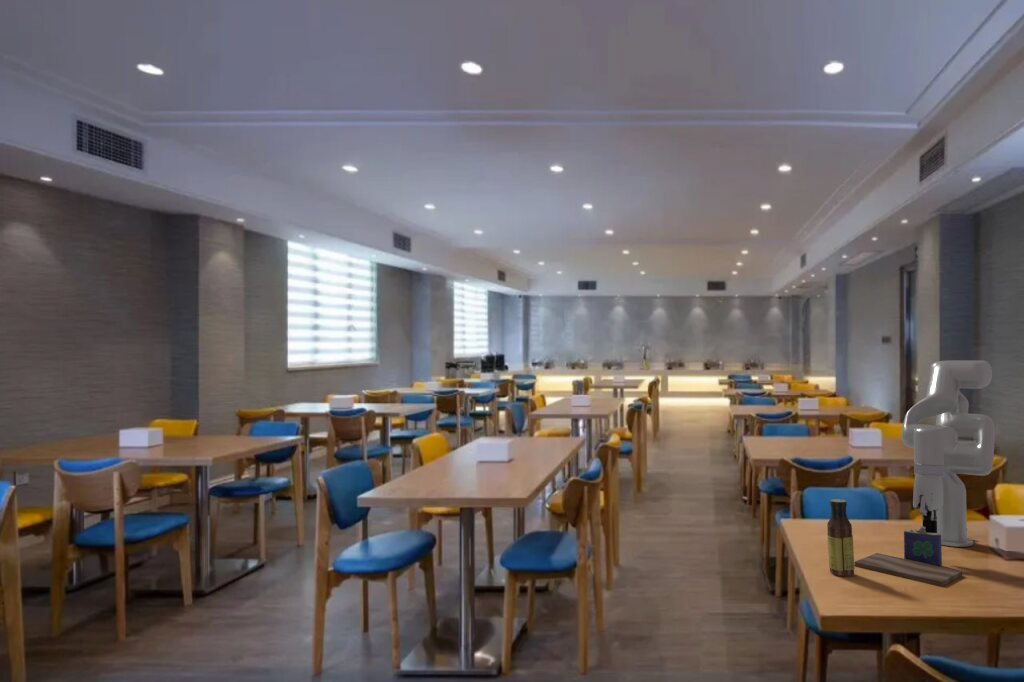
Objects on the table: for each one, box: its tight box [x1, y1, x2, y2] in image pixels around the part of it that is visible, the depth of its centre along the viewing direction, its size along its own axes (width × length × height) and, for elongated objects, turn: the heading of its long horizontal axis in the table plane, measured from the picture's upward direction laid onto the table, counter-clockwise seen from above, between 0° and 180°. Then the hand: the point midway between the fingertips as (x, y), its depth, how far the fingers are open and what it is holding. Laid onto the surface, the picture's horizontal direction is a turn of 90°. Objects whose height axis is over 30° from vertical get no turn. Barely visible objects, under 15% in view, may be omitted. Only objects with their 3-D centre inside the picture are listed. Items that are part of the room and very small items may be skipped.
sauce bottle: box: [827, 498, 856, 578], centre depth 184 cm, size 6×6×20 cm
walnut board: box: [854, 552, 963, 587], centre depth 186 cm, size 14×22×1 cm, turn 38°
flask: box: [903, 525, 943, 567], centre depth 192 cm, size 9×3×11 cm, turn 64°
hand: (929, 533), depth 196 cm, fingers closed
